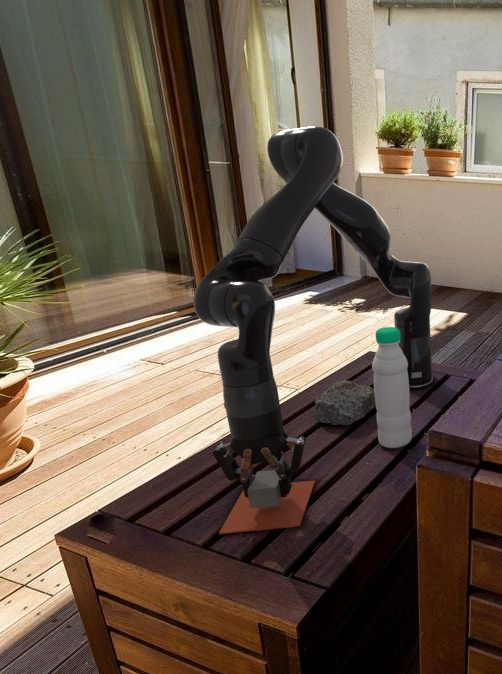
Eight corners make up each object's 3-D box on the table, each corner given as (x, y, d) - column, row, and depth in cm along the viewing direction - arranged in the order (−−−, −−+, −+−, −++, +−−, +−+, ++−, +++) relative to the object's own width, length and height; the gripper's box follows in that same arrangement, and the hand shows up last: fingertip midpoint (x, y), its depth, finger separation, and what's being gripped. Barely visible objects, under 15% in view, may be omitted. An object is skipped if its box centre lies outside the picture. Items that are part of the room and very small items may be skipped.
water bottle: (401, 452, 96) (393, 336, 88) (371, 446, 98) (361, 332, 90) (418, 435, 103) (412, 326, 94) (389, 430, 105) (381, 322, 97)
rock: (352, 432, 104) (385, 405, 118) (351, 406, 102) (385, 381, 116) (303, 423, 107) (341, 397, 121) (300, 397, 105) (339, 374, 119)
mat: (245, 487, 85) (245, 486, 85) (315, 481, 87) (315, 480, 86) (219, 534, 73) (218, 533, 73) (299, 526, 75) (299, 525, 75)
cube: (260, 489, 82) (257, 471, 80) (287, 486, 82) (284, 469, 81) (250, 508, 77) (247, 490, 76) (279, 505, 77) (276, 487, 76)
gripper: (306, 392, 79) (318, 479, 84) (213, 397, 76) (232, 486, 82) (295, 412, 72) (308, 506, 77) (193, 419, 69) (214, 515, 75)
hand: (269, 495), depth 79 cm, fingers closed on cube, 4 cm apart
